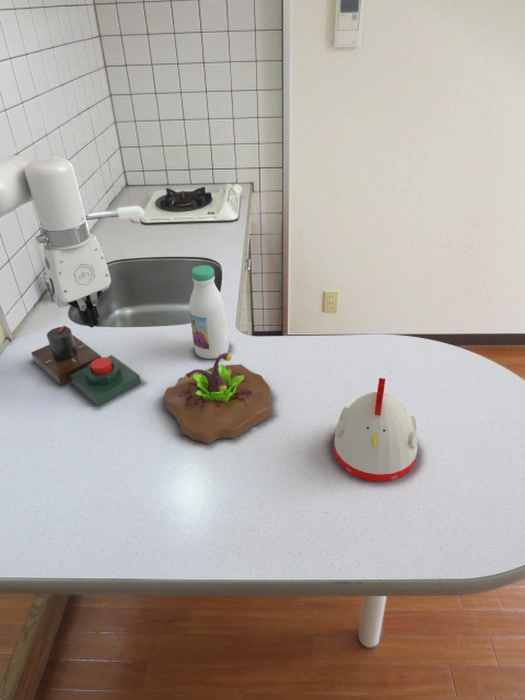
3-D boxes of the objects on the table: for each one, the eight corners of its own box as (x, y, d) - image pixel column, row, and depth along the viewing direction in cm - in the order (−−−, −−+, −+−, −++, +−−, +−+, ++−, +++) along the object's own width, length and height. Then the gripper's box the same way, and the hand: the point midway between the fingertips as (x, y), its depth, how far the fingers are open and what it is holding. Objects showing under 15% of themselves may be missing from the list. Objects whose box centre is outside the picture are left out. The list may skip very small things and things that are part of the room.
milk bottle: (224, 338, 122) (216, 258, 111) (233, 355, 116) (225, 273, 105) (192, 344, 121) (180, 265, 109) (199, 363, 114) (187, 280, 103)
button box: (72, 383, 110) (67, 368, 108) (113, 362, 116) (109, 347, 114) (98, 406, 104) (93, 390, 101) (141, 383, 109) (137, 368, 107)
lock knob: (69, 361, 113) (62, 339, 109) (48, 358, 114) (41, 336, 111) (81, 348, 117) (75, 326, 113) (61, 346, 118) (55, 324, 115)
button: (89, 370, 108) (87, 363, 107) (106, 361, 110) (104, 354, 109) (99, 378, 105) (97, 371, 104) (116, 369, 108) (114, 362, 107)
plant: (290, 415, 99) (289, 367, 93) (195, 455, 91) (187, 405, 85) (242, 363, 114) (238, 319, 107) (156, 393, 106) (147, 348, 100)
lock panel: (34, 361, 118) (30, 351, 116) (74, 343, 123) (72, 333, 122) (60, 385, 110) (57, 375, 108) (103, 365, 115) (100, 355, 114)
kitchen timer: (327, 473, 87) (330, 403, 78) (340, 418, 98) (343, 352, 89) (414, 488, 83) (427, 416, 75) (417, 430, 94) (428, 361, 86)
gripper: (35, 252, 85) (64, 347, 95) (115, 226, 93) (134, 315, 103) (16, 241, 89) (46, 332, 100) (94, 217, 98) (114, 303, 108)
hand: (91, 323), depth 102 cm, fingers closed
